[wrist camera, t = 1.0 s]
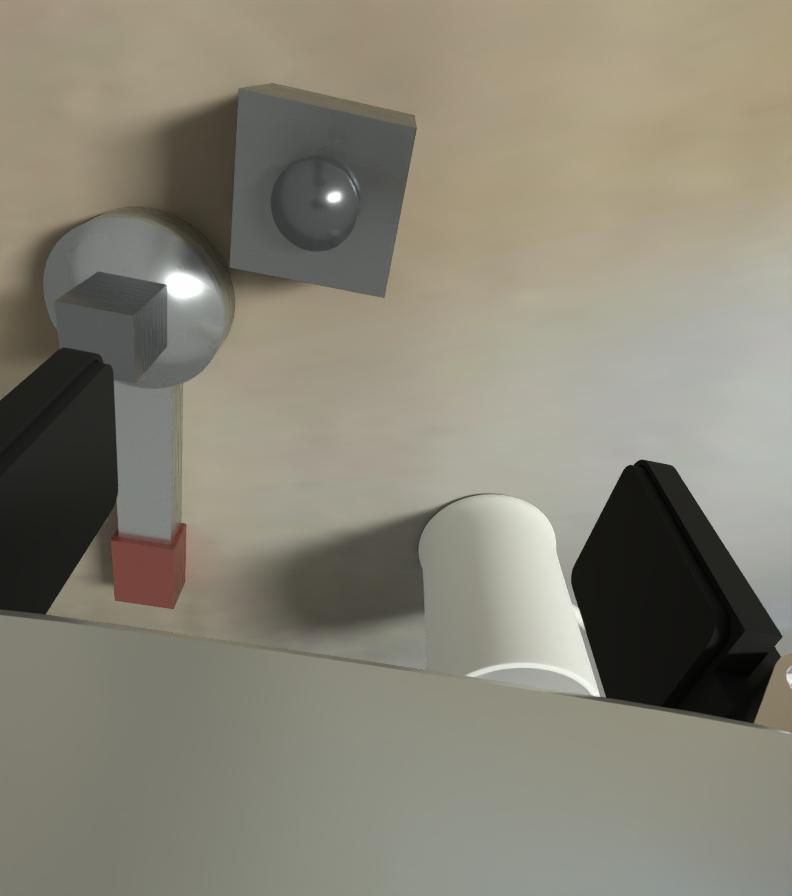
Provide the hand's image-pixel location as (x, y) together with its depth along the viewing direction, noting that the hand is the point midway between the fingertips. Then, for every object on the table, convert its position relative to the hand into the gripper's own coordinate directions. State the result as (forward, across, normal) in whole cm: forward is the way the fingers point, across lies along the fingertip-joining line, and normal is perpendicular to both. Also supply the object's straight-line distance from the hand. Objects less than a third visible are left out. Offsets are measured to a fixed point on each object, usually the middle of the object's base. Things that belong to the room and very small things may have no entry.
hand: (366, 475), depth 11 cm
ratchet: (+20, +11, +14) cm, 26 cm away
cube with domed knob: (+20, +3, -1) cm, 20 cm away
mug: (+20, -12, +18) cm, 30 cm away
